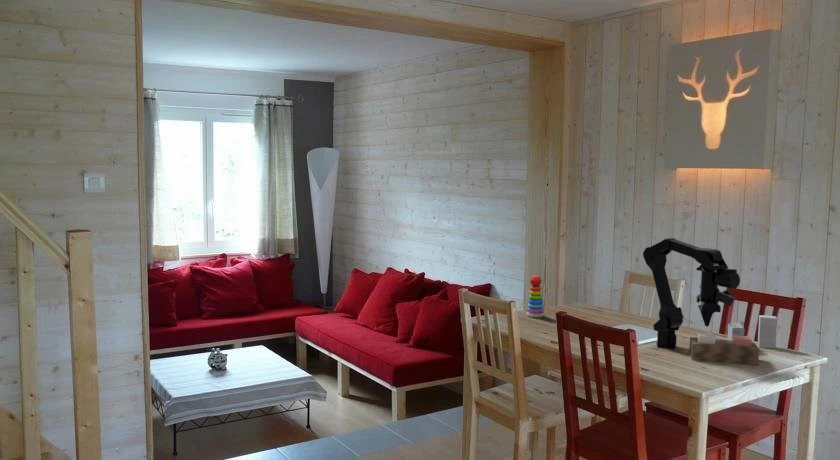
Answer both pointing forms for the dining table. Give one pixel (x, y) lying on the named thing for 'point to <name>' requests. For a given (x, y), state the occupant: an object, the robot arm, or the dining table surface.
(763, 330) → the skincare box
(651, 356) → the dining table surface
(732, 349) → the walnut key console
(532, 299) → the stacking toy
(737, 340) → the brick-red key
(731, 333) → the medicine box
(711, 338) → the ivory key
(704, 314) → the robot arm
